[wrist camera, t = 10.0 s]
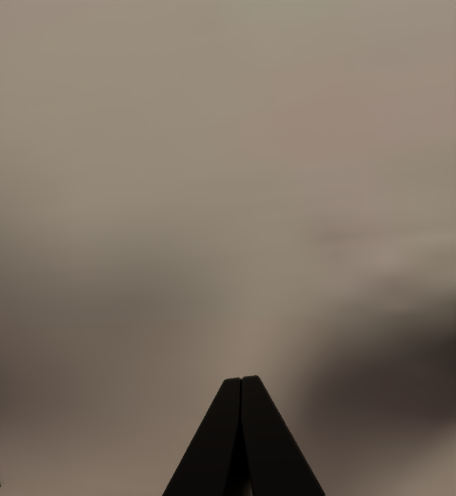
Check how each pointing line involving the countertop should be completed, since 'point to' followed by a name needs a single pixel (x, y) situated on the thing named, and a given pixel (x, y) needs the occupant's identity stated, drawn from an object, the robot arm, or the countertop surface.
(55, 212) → the countertop surface
